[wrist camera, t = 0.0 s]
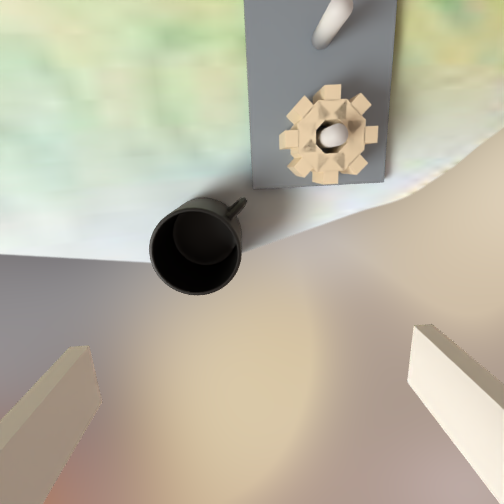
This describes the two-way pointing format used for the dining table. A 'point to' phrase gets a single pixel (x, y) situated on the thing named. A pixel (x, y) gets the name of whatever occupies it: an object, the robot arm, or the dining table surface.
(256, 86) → the gear board
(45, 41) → the dining table surface
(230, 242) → the mug
